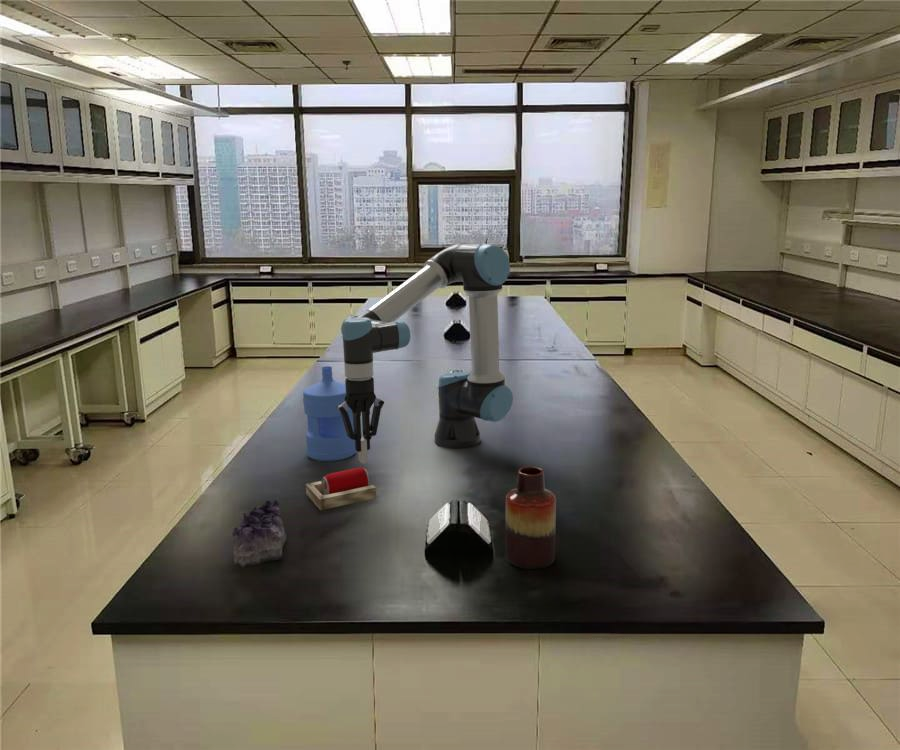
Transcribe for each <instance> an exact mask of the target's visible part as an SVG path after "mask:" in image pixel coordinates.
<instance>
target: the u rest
mask: <svg viewBox="0 0 900 750" xmlns="http://www.w3.org/2000/svg"><path fill="white" fill-rule="evenodd" d="M305 490H306V491H305V494H306V496H308V498H309V499H310V501H312V502H313V503H314V505H315V506H316V507H317V508H318V509H319V510H320V511H323V510H324V511H325V510H328V509H333V508H337V507H340V506H346V505H350V504H355V503H360V502H365V501H368V500H373V499H376V498H377V487H376V486H375V485H374V484H371V485H370V484H369V486H366V487H361V488H356V489H352V490H347V491H342V492H337V493H333V494H328V495H324V493H323V490H322V485H321V480H319V481H314V482H310V483H305Z"/></svg>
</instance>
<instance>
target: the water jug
mask: <svg viewBox="0 0 900 750" xmlns="http://www.w3.org/2000/svg"><path fill="white" fill-rule="evenodd" d="M332 369H333V366H328V365H327V366H321V370H322V372H321V376H322V379H321V381H319V382H316V383H315V384H312V385H311V386H309V387H307V388H305V389H304V390H303V392H302V403H303V412H304V414H305V415H306V417H307V432H306V433H305V441H306V443H305V444H306V446H305V447H306V455H307V457H308V458H310V459H311V460H314V461H320V462H335V461H342V460H345V459H348V458H351V457H352V456H353V455H355V454H356V453H357V451H356V450H355V440H354V439H353V440H352V439H350V438H349V437H348V436H347V432H346V429H345V426H344V422H343V419H342V416H341V413H340V412H339V410H338V409H337V405H341V404H342V403H343V402H344V401H345V397H346V387H345V383H343V382H340V381H338V380H334V378H333V371H332ZM347 408H348V409H347V413H348V415H349V419H350V422H351V425H352V429H353V432H354V428H353V414H352V410H351V409H350V407H349V406H348V405H347Z"/></svg>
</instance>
